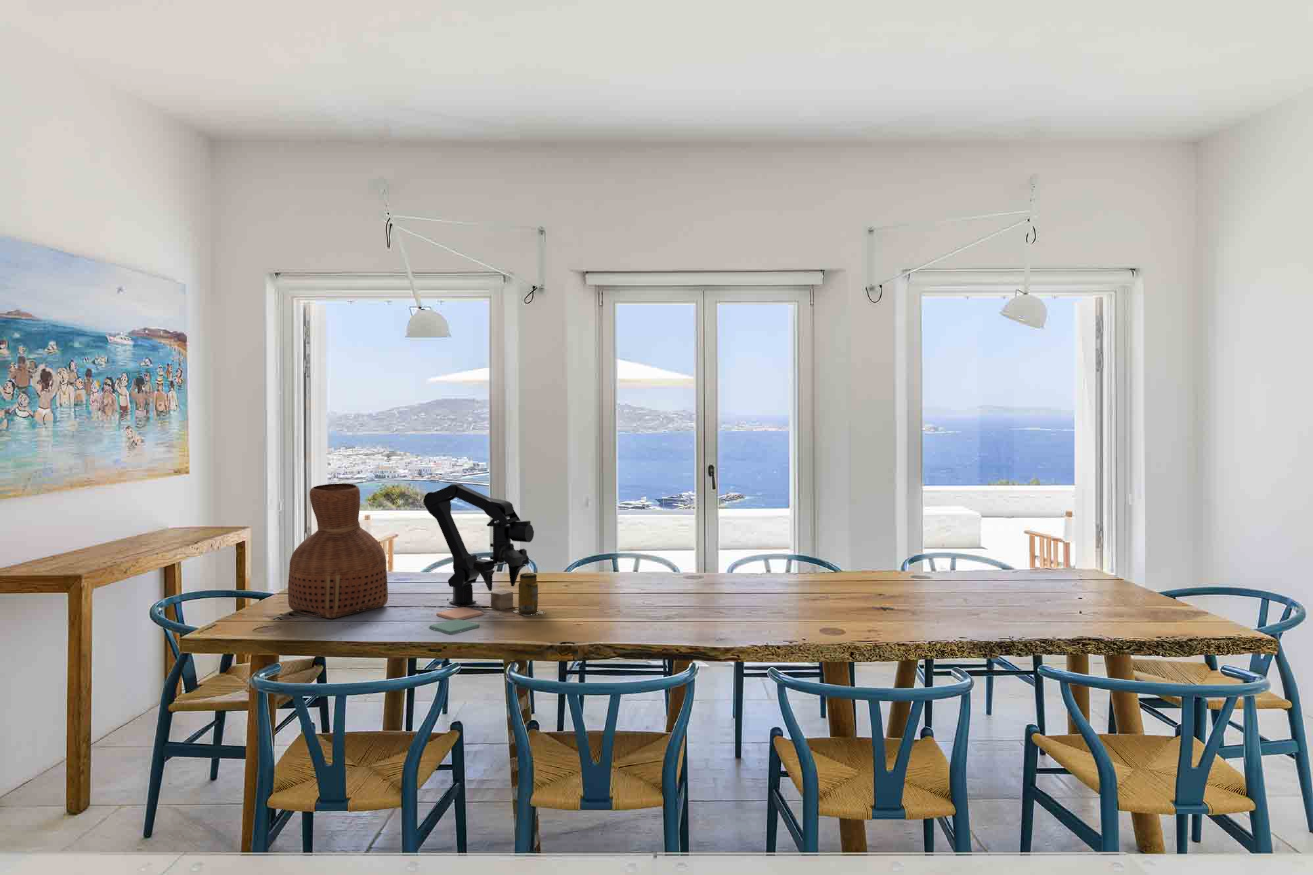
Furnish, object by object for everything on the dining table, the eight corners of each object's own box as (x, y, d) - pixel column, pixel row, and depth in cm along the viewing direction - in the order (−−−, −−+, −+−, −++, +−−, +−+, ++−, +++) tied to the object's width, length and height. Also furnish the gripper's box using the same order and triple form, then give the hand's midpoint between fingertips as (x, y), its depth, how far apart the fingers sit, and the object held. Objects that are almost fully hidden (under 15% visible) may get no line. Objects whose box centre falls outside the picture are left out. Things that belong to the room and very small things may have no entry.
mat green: (429, 628, 221) (429, 625, 221) (458, 621, 229) (458, 618, 229) (450, 634, 215) (450, 631, 215) (479, 627, 223) (479, 624, 223)
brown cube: (490, 607, 247) (490, 592, 247) (503, 604, 251) (503, 589, 251) (500, 610, 244) (500, 594, 244) (513, 607, 248) (513, 591, 247)
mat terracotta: (436, 615, 236) (436, 612, 236) (463, 609, 244) (463, 606, 244) (456, 620, 230) (456, 618, 230) (482, 614, 238) (482, 611, 238)
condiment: (532, 608, 246) (532, 571, 246) (546, 613, 239) (546, 575, 239) (512, 611, 241) (512, 574, 241) (525, 617, 235) (525, 578, 235)
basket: (271, 613, 238) (270, 485, 238) (344, 595, 263) (343, 480, 262) (333, 624, 225) (332, 489, 225) (403, 605, 250) (403, 483, 249)
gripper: (494, 546, 234) (494, 597, 235) (540, 539, 249) (540, 587, 249) (472, 542, 241) (472, 591, 242) (517, 536, 256) (517, 582, 256)
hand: (501, 588), depth 247 cm, fingers open, 9 cm apart
